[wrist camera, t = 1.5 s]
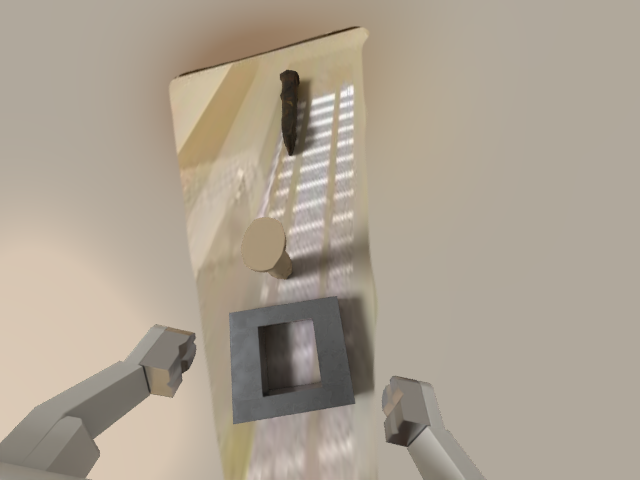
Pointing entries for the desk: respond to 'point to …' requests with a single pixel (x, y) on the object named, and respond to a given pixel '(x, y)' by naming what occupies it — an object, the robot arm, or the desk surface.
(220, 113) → the desk surface
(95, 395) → the robot arm
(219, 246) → the desk surface
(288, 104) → the hand tool
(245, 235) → the handle
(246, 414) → the jig
